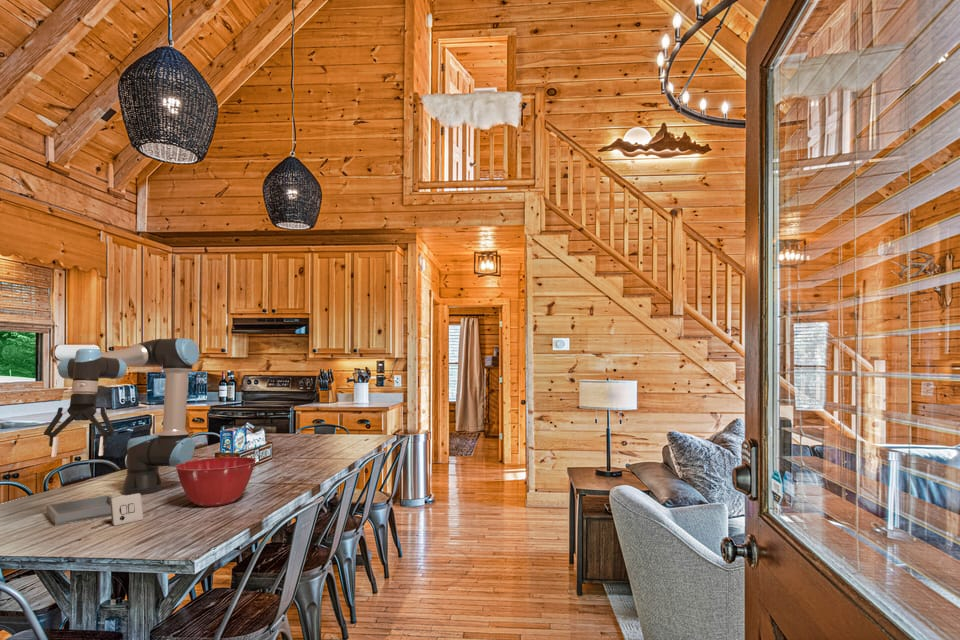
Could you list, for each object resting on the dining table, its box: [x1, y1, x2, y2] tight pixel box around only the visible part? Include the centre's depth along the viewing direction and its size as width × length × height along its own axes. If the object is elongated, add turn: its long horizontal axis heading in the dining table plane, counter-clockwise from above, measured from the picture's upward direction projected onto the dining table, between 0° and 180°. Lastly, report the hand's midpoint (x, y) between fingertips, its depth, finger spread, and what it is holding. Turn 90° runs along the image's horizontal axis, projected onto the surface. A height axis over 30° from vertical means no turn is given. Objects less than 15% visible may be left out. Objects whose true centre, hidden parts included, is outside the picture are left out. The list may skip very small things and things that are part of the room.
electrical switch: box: [110, 493, 144, 527], centre depth 203 cm, size 9×5×9 cm, turn 141°
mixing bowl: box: [175, 456, 257, 508], centre depth 228 cm, size 28×28×16 cm
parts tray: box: [46, 494, 115, 526], centre depth 214 cm, size 20×20×4 cm
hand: (77, 456), depth 200 cm, fingers open, 13 cm apart
